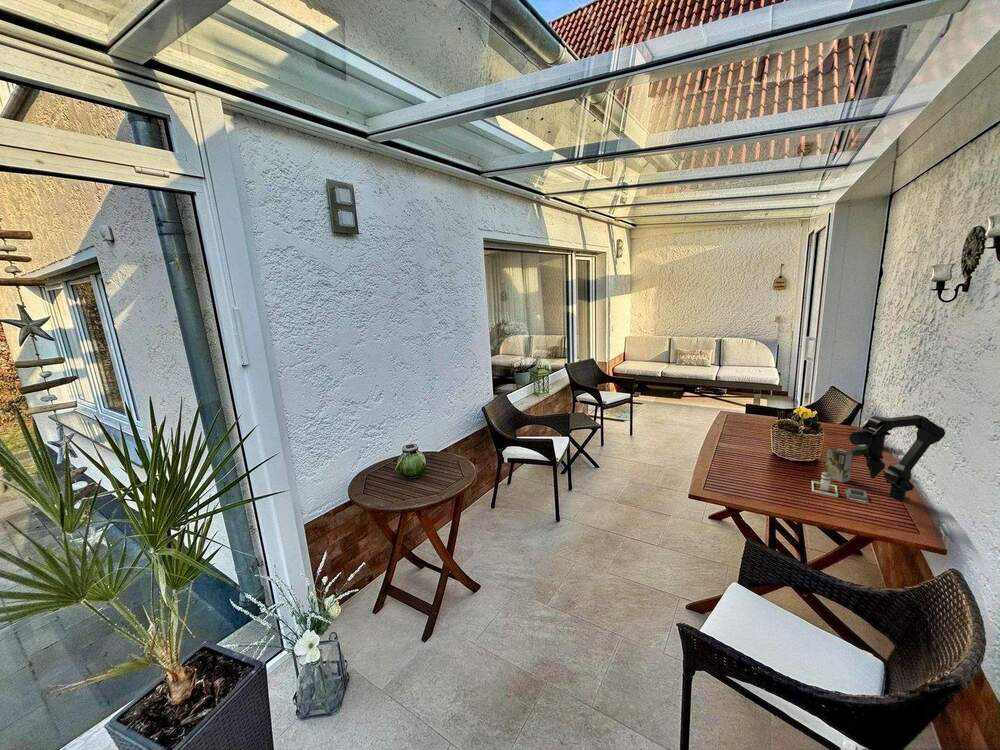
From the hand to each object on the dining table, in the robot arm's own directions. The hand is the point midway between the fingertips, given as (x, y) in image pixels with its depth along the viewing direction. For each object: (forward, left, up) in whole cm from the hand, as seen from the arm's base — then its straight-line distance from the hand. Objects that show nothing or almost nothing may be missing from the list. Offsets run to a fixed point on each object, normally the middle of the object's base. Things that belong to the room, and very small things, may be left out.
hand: (871, 474), depth 196 cm
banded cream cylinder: (+1, -16, -12) cm, 21 cm away
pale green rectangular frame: (+1, -16, -13) cm, 21 cm away
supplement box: (-83, +10, -13) cm, 84 cm away
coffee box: (-18, -10, -13) cm, 24 cm away
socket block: (+1, -4, -13) cm, 13 cm away
